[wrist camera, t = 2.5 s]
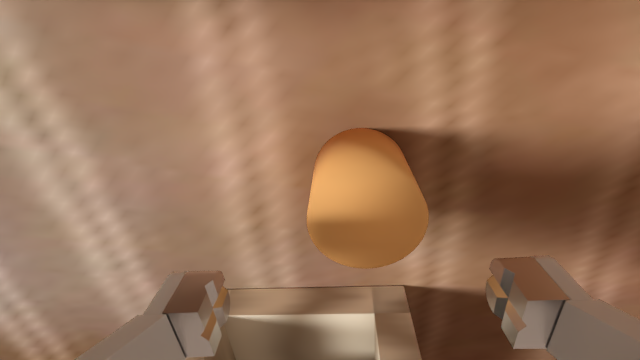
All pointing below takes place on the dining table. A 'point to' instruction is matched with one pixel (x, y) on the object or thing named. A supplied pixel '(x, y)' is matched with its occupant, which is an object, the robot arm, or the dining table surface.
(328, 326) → the wooden napkin holder
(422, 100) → the dining table surface
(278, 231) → the dining table surface
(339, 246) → the brown egg
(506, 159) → the dining table surface
